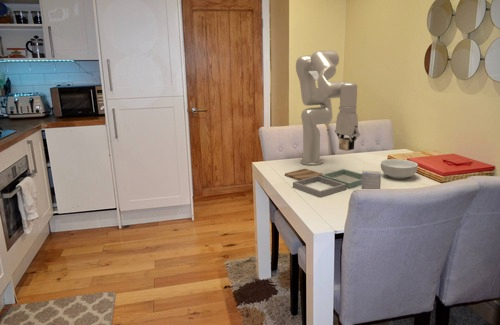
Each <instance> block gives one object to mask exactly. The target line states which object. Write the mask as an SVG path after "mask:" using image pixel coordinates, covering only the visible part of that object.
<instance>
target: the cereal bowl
mask: <svg viewBox="0 0 500 325" xmlns="http://www.w3.org/2000/svg"><path fill="white" fill-rule="evenodd" d="M418 166H419V165H418V163H417V162H415V161H412V160H407V159H402V158H401V159H399V158H387V159H384V160H381V162H380V168H381V171H382V172H383V173H384V175H387V176H389V177H390V178H392V179H396V180H398V179H399V180H404V179H406V178H409V177H413V176H414V175H415V174H416V173H417V172H418Z"/></svg>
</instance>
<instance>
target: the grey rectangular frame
mask: <svg viewBox="0 0 500 325" xmlns="http://www.w3.org/2000/svg"><path fill="white" fill-rule="evenodd" d="M316 182H317V183H318V182H319V183H321V184H325V185H327V186H331V187H329V188H326V189H325V188H324V189H322V190H320V189H317V188H313V187H311V186H308V185H309V184H314V183H316ZM292 188H293V189H297V190H299V191H302V192H305V193H308V194H309V195H312V196H316V197H319V198H322V197H326V196H329V195H332V194H335V193H339V192H342V191H345V190H347V188H346V184H344V183H340V182H337V181H334V180H331V179H327V178H324V177H321V176H314V177H311V178H307V179H303V180H296V181H293V182H292Z"/></svg>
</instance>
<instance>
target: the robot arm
mask: <svg viewBox="0 0 500 325" xmlns="http://www.w3.org/2000/svg"><path fill="white" fill-rule="evenodd" d="M339 62H340V55H339V54H338V52H337V51H335V50H332V49H331V50H317V51H314V52H313V53H312V54H311V55H302V56H299V57H298V58H297V59H296V61H295V73H296V75H297V77H298V80H299V85H300V86H299V87H300V93H301V101H302V104H303V105H304V106H317V107H307V108H305V109H303V110H302V111H301V115H300V118H301V124H302V138H303V139H302V151H303V152H302V153H301V154H300V155H299V158H301V159H300V164H301V165H305V166H318V165H319V166H320V165H321V164H323V163H324V162H323V161H324V160H322V159H321V157H320V156H321V132H320V129H319V128H318V127H317V125H325V124H330V123H331V121H332V120H333V108H332V100H331V99H337V98H339V106H338V110H339V111H338V113H337V116H336V120H335V121H336V122H335V130H334V133H335V134H336V136H337V138H338V140H339V139H341V138H345V136H348V138H349V139H350V141H349V148H348V149H349V151H353V150H355V142H356V140H357V139H358V138H359V137H361V133H360V131H359V118H358V113H357V106H358V105H357V104H358V102H357V100H358V84H357V83H356V82H350V81H345V80H344V81H328V80H330V79H332V78H333V77H334V76H335V75H336V73H337V68H336V67H337V66H338V65H339V64H340V63H339ZM310 72H317V74H318V78H317V84H316V79H315V77H314V75H313V74H311V73H310ZM352 149H353V150H352Z"/></svg>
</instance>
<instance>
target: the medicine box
mask: <svg viewBox="0 0 500 325" xmlns="http://www.w3.org/2000/svg"><path fill="white" fill-rule="evenodd" d="M361 174H362V185H361V189H380V190H381V182H382V180H381V179H382V172H381V171H379V170H362V173H361Z"/></svg>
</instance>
